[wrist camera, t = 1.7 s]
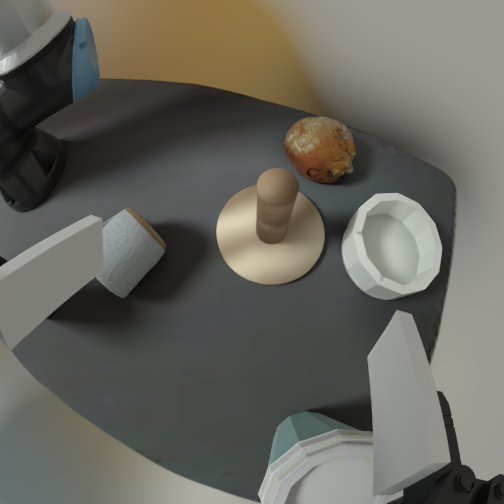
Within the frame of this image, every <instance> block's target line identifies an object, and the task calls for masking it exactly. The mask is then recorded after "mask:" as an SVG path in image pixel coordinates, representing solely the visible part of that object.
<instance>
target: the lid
mask: <svg viewBox="0 0 504 504" xmlns="http://www.w3.org/2000/svg"><path fill="white" fill-rule="evenodd" d="M324 238H325V236H324V225H323V222H322V218H321V216H320V214H319V212H318V210H317V209H316V207H315V206H314V204H313V203H312V202H311V201H310V200H309V199H308V198H307V197H306V196H304V195H303V194H302V193H300V192H299V183H298V181H297V179H296V177H295V176H294V175H293V174H292V173H291V172H289V171H287V170H285V169H280V168H274V169H269V170H267V171H265V172H264V173H262V174H261V176H260V177H259V179H258V182H257V185H254V186H251V187H248V188H246V189H244V190H242V191H240V192H239V193H237V194H236V195H234V196H233V197H232V198H231V199H230V200H229V201H228V202H227V204H226V205H225V206H224V208H223V210H222V211H221V214H220V216H219V219H218V223H217V242H218V246H219V249H220V252H221V254H222V256H223V258H224V260H225V261H226V263H227V264H228V265H229V266H230V268H231V269H232V270H233V271H235V272H236V273H237V274H238V275H240V276H241V277H243V278H245V279H247V280H249V281H251V282H254V283H258V284H263V285H281V284H286V283H289V282H292V281H294V280H296V279H298V278H300V277H301V276H303V275H304V274H306V273H307V272H308V271H309V270H310V269H311V268H312V267H313V265H314V264H315V263H316V261H317V260H318V258H319V256H320V254H321V252H322V249H323V245H324Z"/></svg>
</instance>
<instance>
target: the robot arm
mask: <svg viewBox="0 0 504 504" xmlns="http://www.w3.org/2000/svg"><path fill="white" fill-rule="evenodd" d="M99 79H100V73H99V64H98V57H97V51H96V46H95V41H94V36H93V32H92V29H91V26H90V23H89V22H88V19H87V18H81V19H80V18H79V19H77V20H76V22H75V21H74V20H73V18H72V16H71V14H70V13H69V11H67V10H55V9H53V6H52V4H51V3H50V0H0V194H1V195H2V197H3V199H4V200H5V202H6V203H7V204H8V205H9V206H10V207H11V208H13V209H14V210H15V211H17V212H25V211H28V210H30V209H32V208H34V207H35V206H37V205H38V204H39V203H40V202H41V201H42V200H43V199H44V198H45V197H46V196H47V195H48V194H49V193H50V191H51V190H52V189H53V187H54V186H55V184H56V183H57V181H58V179H59V177H60V175H61V173H62V170H63V168H64V165H65V160H66V151H65V148H64V146H63V145H62V143H61V142H60V141H59V140H58V139H57V138H56V137H55V136H53V135H51V134H49V133H47V132H45V131H43V130H41V129H39V128H37V127H35V126H36V125H37V124H39V123H40V122H42V121H43V120H45V119H47V118H48V117H50V116H51V115H53V114H55V113H56V112H58V111H60V110H61V109H63V108H65V107H66V106H68V105H70V104H72V103H76V102H77V100H78V99H80V98H82V97H84V96H85V95H87V94H89V93H91V92H92V91H93V90H95V88H96V87H97V86H98V83H99ZM103 270H104V256H103V233H102V218H99V217H96V216H93V215H89V216H87V217H86V218H84V219H82V220H80V221H78V222H76V223H74V224H72V225H70V226H68V227H66V228H64V229H63V230H61V231H59V232H57V233H55V234H53V235H52V236H50V237H48V238H46V239H45V240H43V241H41V242H39V243H38V244H36V245H34V246H33V247H31V248H29V249H28V250H26V251H24V252H23V253H21V254H19V255H17V256H15V257H14V258H12V259H11V260H9V261H8V262H7V263H4V264H3V265H1V267H0V340H1V342H2V343H3V344H4V345H5V346H6V347H7V348H8V349H9V350H10V351H11V350H12V349H13V348H14V347H15V346H16V345H17V344H18V343H19V342H20V341H21V340H22V339H23V338H25V337H26V336H27V335H28V334H29V333H30V332H31V331H32V330H33V329H34V328H35V327H37V326H38V325H39V324H40V323H41V322H42V321H43V320H44V319H45V318H47V317H48V316H49V315H50V314H51V313H52V312H53V311H55V310H56V309H57V308H58V307H59V306H60V305H62V304H63V303H64V302H65V301H66V300H68V299H69V298H70V297H71V296H72V295H74V294H75V293H76V292H77V291H78V290H80V289H81V288H82V287H83V286H85V285H86V284H87V283H88V282H89V281H91V280H92V279H93V278H94V277H96V276H97V275H98V274H100V273H101V272H102V271H103ZM367 358H368V367H369V378H370V389H371V403H372V421H373V494H372V496H381V495H393V494H395V493H397V492H399V491H401V490H403V495H404V496H402V497H400V498H398V499H396V500H393V501H391V502H389V503H387V504H504V475H501V474H499V475H497V476H495V477H494V478H492V479H491V480H489V481H484V480H480V479H476V477H475V474H474V472H473V471H472V470H471V468H470V467H468V466H466V465H462V464H461V460H460V454H459V448H458V443H457V438H456V433H455V428H454V427H453V425H454V424H453V419H452V418H451V411H450V407H449V403H448V401H447V400H446V398H445V396H444V395H443V393H442V392H440V391H436V387H435V384H434V380H433V377H432V373H431V370H430V366H429V363H428V360H427V357H426V353H425V350H424V347H423V344H422V341H421V338H420V335H419V333H418V330H417V327H416V324H415V322H414V319H413V316H412V314H409V313H406V312H402V311H399V310H397V311H396V312H395V314H394V316H393V317H392V319H391V321H390V322H389V324H388V326H387V327H386V329H385V330H384V332H383V334H382V335H381V337H380V338H379V340H378V342H377V343H376V345H375V346H374V348H373V349H372V351H371V352H370V354H369V355H368V357H367Z"/></svg>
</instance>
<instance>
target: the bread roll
mask: <svg viewBox="0 0 504 504" xmlns="http://www.w3.org/2000/svg"><path fill="white" fill-rule="evenodd" d="M284 145H285V153H286V156H287V158H288V159H289V161H290V163H291V164H292V165H293V167H294V168H295V169H296V170H297V171H298V172H299V173H300V174H301V175H302V176H304V177H306V178H308V179H310V180H312V181H314V182H319V183H330V182H335V181H344V177H345V176H344V175H345V173H347V174H350V173H352V172H353V166H352V160H354V158H355V156H356V151H355V143H354V139H353V136H352V134H351V132H350V131H349V129H348V128H347V127H346V126H345V125H344V124H343V123H341V122H339V121H336V120H333V119H330V118H326V117H307V118H303V119H301V120H299V121H297V122H296V123H295V124H293V125H292V126H291V128H290V129H289V130H288V132H287V134H286V137H285V144H284Z"/></svg>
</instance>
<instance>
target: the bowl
mask: <svg viewBox="0 0 504 504" xmlns="http://www.w3.org/2000/svg"><path fill="white" fill-rule="evenodd" d="M341 254H342V260H343V264H344V267H345V269H346V272H347V274H348V276H349V277H350V279H351V280H352V282H353V283H354V284H355V285H356V286H357V287H358V288H359V289H360V290H361V291H362V292H364V293H365V294H367V295H369V296H371V297H373V298H376V299H380V300H393V299H397V298H400V297H404V296H408V295H411V294H414V293H417V292H419V291H422V290H425V289H426V288H427V286H428V285H429V284H430V283H431V281H432V280H433V279H434V278H435V276H436V275H437V274H438V273H439V269H440V262H441V255H442V245H441V241H440V238H439V234H438V231H437V228H436V225H435V223H434V221H433V220H432V219H431V218H430V216H429V215H428V214H427V213H426V211H425V210H424V209H423V208H422V207H421V205H420V204H419V203H417V202H415V201H413V200H411V199H409V198H407V197H405V196H403V195H401V194H399V193H384V194H375V195H374V196H373V197H372V198H370V199H369V200H368V201H367V202H366V203H364V204H363V205H362V206H361V207H359V209H358V210H357V211H356V213H355V214H354V215H353V217H352V218H351V219H350V221H349V223H348V226H347V228H346V230H345V232H344V235H343V238H342V244H341Z"/></svg>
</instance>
